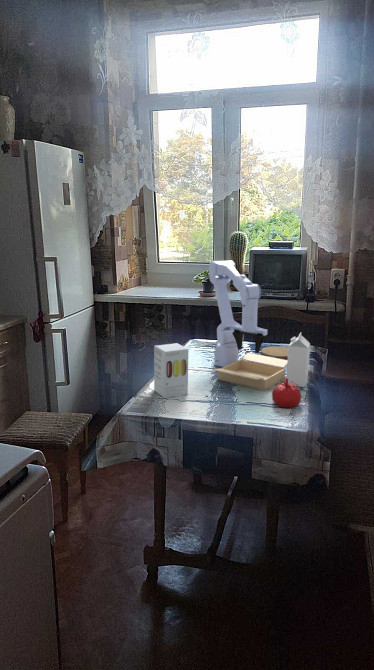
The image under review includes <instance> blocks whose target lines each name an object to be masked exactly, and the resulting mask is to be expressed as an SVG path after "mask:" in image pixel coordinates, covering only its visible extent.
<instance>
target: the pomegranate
mask: <svg viewBox="0 0 374 670" xmlns="http://www.w3.org/2000/svg"><path fill="white" fill-rule="evenodd" d="M280 382H283V383H280ZM280 382H279V383H277V384H275V385H277V386H275V385H274V386H275V387H274V388H273V389H272V392H271V398H272V402H273V403H274V404H275V405H277V406H278V407H281V408H284V409H285V408H286V409H289V408H295V407H297V406H299V405H300V403H301V401H302V392H301V391H300V389H299V388H298V386H295V385H293V384H290V383H291V382H292V381H291V382H289V383H288V378H287V377H285V379H284V380H281V381H280ZM293 383H294V382H293ZM297 385H298V384H297Z"/></svg>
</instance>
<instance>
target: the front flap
mask: <svg viewBox="0 0 374 670" xmlns="http://www.w3.org/2000/svg"><path fill="white" fill-rule="evenodd" d="M221 368H222V367H221ZM221 368H212V371H215V372H218V371H219V372H223V373H228V374H232V375H236V376H241V377H245V378H250V379H254V380H261V379H264V378H262V377H257V376H253V375H248V374H244V373H239V372H234V371H230V370H225V369H221Z"/></svg>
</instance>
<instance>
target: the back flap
mask: <svg viewBox="0 0 374 670" xmlns="http://www.w3.org/2000/svg"><path fill="white" fill-rule="evenodd" d="M240 360H244V361H249V362H254V363H259V364H264V365H269V366H274V367H279V368H284V369H285V368H286V367H287V361H288V360H283V359H278V358H273V357H268V356H262V355H261V354H258V353H252V352H247V353H246V354H245V355H244V356H242V358H241V359H240Z"/></svg>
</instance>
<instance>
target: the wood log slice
mask: <svg viewBox="0 0 374 670" xmlns="http://www.w3.org/2000/svg"><path fill="white" fill-rule="evenodd" d="M260 355H262V356H268V357H273V358H278V359H283V360H288V347H286V346H279V345H278V346H277V345H275V346H266V347H263V348H261V350H260Z"/></svg>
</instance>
